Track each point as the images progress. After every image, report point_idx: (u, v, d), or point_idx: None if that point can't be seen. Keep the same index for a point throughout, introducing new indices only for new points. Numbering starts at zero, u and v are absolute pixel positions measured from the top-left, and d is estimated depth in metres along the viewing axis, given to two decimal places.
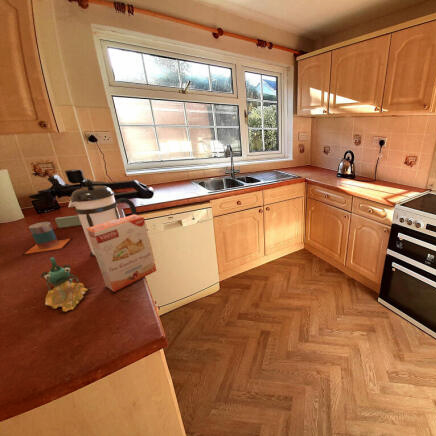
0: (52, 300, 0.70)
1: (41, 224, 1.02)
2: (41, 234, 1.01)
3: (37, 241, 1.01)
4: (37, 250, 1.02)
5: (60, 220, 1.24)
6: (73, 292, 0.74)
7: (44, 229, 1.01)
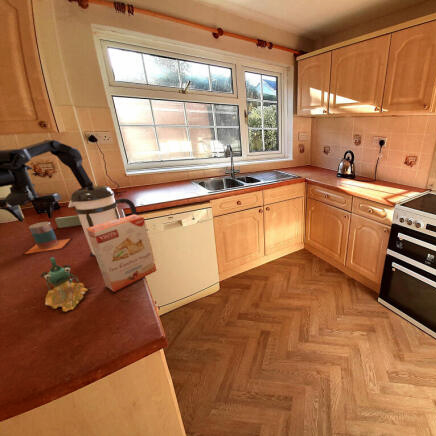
0: (52, 300, 0.70)
1: (41, 224, 1.02)
2: (41, 234, 1.01)
3: (37, 241, 1.01)
4: (37, 250, 1.02)
5: (60, 220, 1.24)
6: (73, 292, 0.74)
7: (44, 229, 1.01)
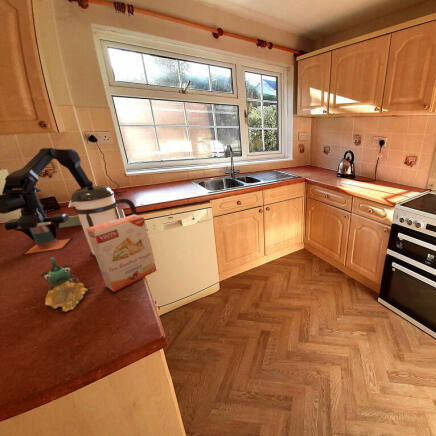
0: (52, 300, 0.70)
1: (41, 224, 1.02)
2: (41, 234, 1.01)
3: (37, 241, 1.01)
4: (37, 250, 1.02)
5: None
6: (73, 292, 0.74)
7: (44, 229, 1.01)
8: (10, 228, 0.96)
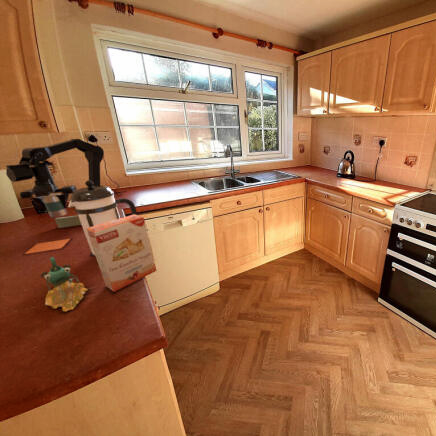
0: (52, 300, 0.70)
1: (52, 194, 1.13)
2: (53, 203, 1.12)
3: (49, 209, 1.13)
4: (37, 250, 1.02)
5: (60, 220, 1.24)
6: (73, 292, 0.74)
7: (55, 199, 1.13)
8: (25, 197, 1.08)
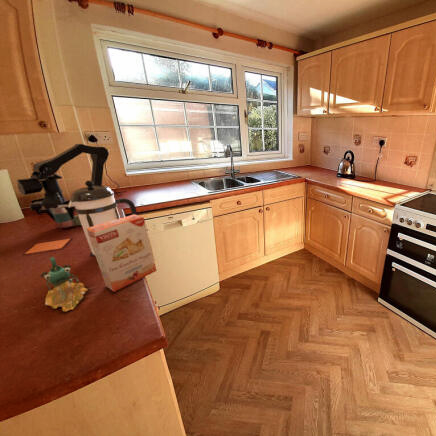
0: (52, 300, 0.70)
1: (60, 206, 1.19)
2: (61, 214, 1.18)
3: (57, 220, 1.18)
4: (37, 250, 1.02)
5: None
6: (73, 292, 0.74)
7: (63, 210, 1.18)
8: (35, 209, 1.13)
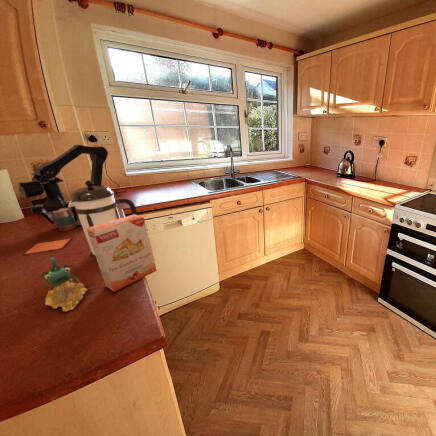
0: (52, 300, 0.70)
1: (62, 210, 1.20)
2: (63, 218, 1.18)
3: (59, 224, 1.19)
4: (37, 250, 1.02)
5: None
6: (73, 292, 0.74)
7: (65, 214, 1.19)
8: (36, 212, 1.14)
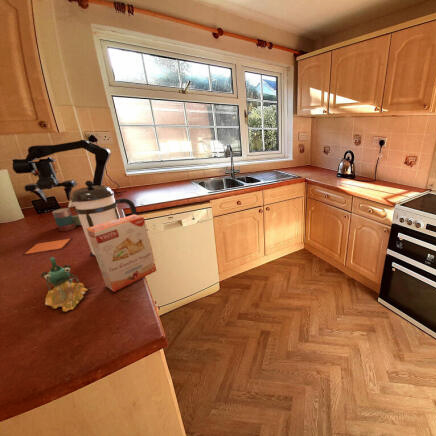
0: (52, 300, 0.70)
1: (62, 210, 1.20)
2: (63, 218, 1.18)
3: (59, 224, 1.19)
4: (37, 250, 1.02)
5: None
6: (73, 292, 0.74)
7: (65, 214, 1.19)
8: (29, 190, 1.18)
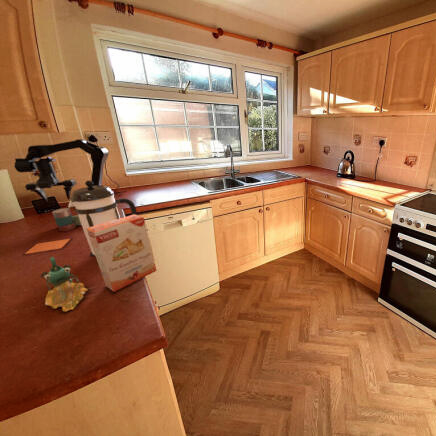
0: (52, 300, 0.70)
1: (62, 210, 1.20)
2: (63, 218, 1.18)
3: (59, 224, 1.19)
4: (37, 250, 1.02)
5: None
6: (73, 292, 0.74)
7: (65, 214, 1.19)
8: (30, 189, 1.20)
